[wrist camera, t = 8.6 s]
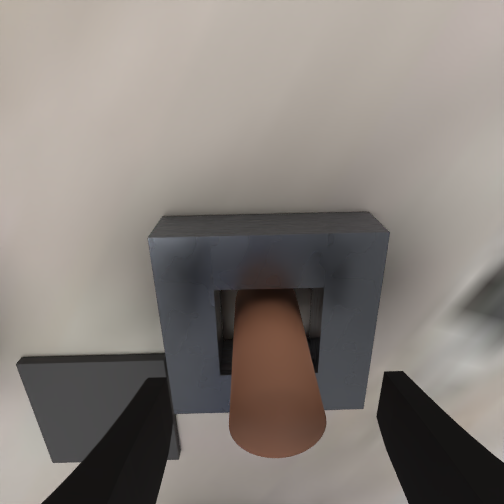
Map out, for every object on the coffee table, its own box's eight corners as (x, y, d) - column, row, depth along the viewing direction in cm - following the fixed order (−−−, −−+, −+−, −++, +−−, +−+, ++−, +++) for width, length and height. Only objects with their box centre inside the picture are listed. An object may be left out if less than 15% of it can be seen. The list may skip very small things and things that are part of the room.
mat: (180, 451, 21) (179, 459, 21) (56, 455, 21) (52, 462, 21) (165, 353, 18) (163, 360, 18) (21, 357, 18) (15, 364, 18)
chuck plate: (349, 371, 19) (363, 409, 17) (182, 375, 19) (174, 413, 17) (368, 211, 15) (389, 232, 13) (162, 216, 15) (147, 237, 13)
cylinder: (297, 326, 18) (325, 455, 11) (238, 329, 18) (233, 460, 12) (296, 273, 17) (327, 385, 10) (232, 277, 17) (224, 392, 10)
